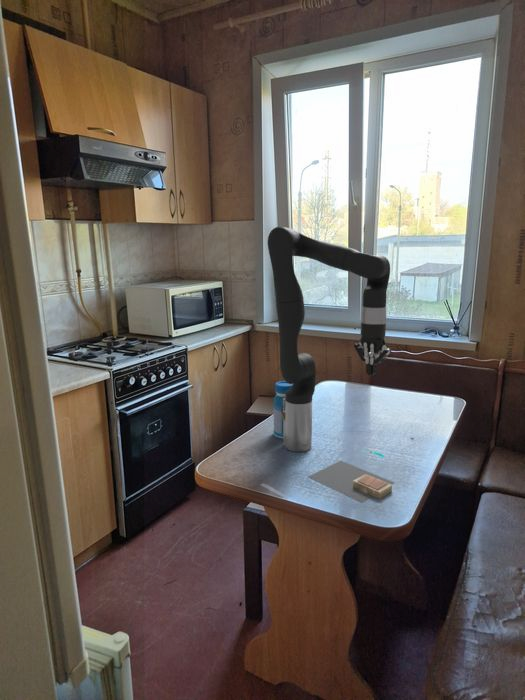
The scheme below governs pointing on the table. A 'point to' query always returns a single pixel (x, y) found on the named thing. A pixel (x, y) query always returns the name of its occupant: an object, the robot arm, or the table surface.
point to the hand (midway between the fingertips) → (370, 375)
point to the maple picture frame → (372, 486)
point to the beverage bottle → (279, 407)
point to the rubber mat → (345, 479)
